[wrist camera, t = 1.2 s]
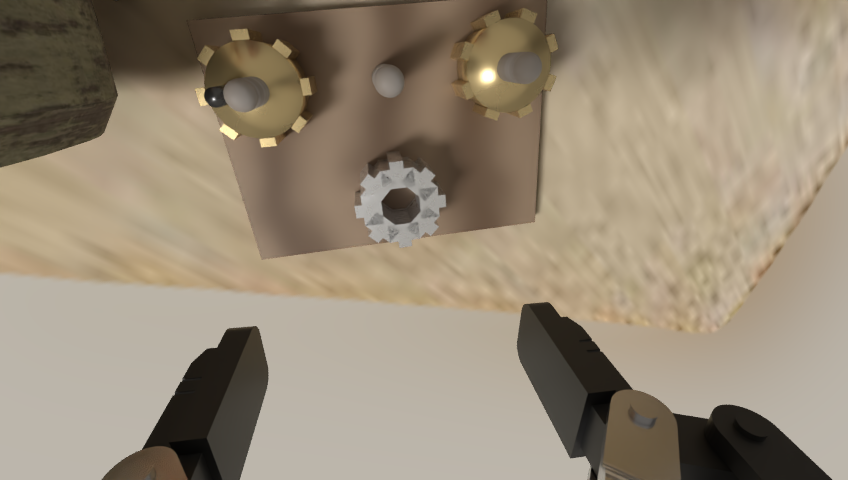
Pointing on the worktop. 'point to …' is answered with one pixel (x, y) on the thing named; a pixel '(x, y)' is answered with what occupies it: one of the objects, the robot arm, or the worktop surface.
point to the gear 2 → (484, 54)
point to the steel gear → (405, 220)
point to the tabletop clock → (51, 78)
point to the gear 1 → (269, 66)
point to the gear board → (380, 122)
